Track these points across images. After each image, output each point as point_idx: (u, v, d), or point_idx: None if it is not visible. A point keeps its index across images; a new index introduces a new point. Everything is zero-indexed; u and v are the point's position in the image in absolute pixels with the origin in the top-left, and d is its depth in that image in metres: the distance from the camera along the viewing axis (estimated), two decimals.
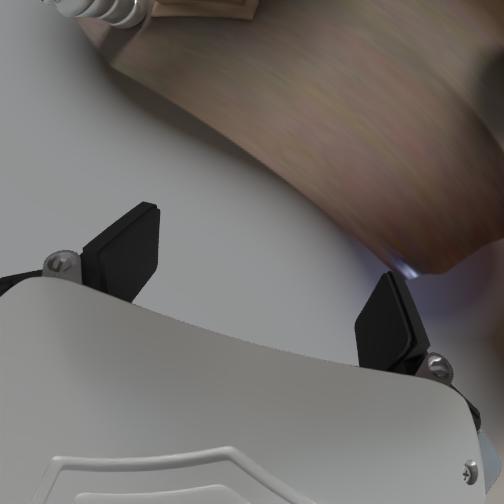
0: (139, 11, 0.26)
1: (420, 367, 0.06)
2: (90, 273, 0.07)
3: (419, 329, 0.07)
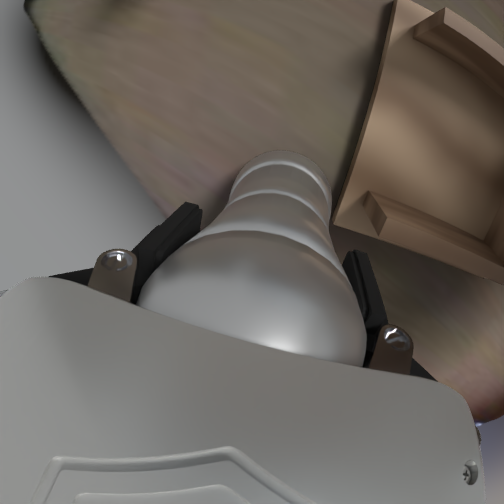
0: None
1: (377, 343, 0.07)
2: (144, 271, 0.08)
3: (376, 301, 0.08)
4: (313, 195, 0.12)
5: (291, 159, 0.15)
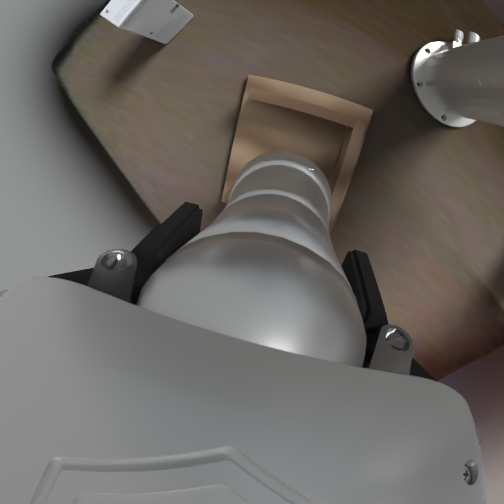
0: None
1: (377, 343, 0.07)
2: (144, 271, 0.08)
3: (376, 301, 0.08)
4: (313, 196, 0.12)
5: (290, 159, 0.15)
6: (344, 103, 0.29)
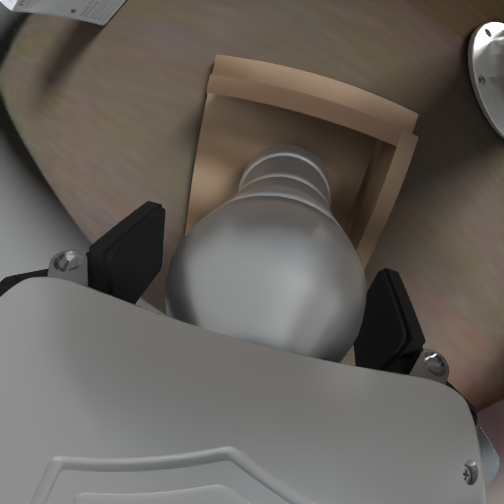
0: None
1: (415, 364, 0.06)
2: (96, 272, 0.07)
3: (414, 325, 0.07)
4: (316, 181, 0.14)
5: (296, 151, 0.16)
6: (374, 100, 0.17)
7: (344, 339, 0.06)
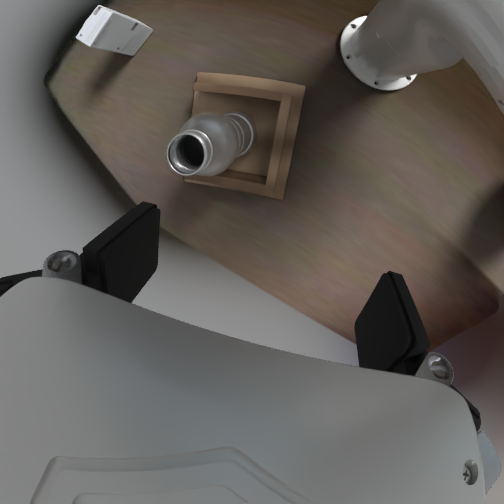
0: (253, 142, 0.36)
1: (420, 367, 0.06)
2: (90, 273, 0.07)
3: (419, 329, 0.07)
4: (238, 120, 0.31)
5: (234, 112, 0.33)
6: (279, 84, 0.34)
7: (222, 138, 0.23)
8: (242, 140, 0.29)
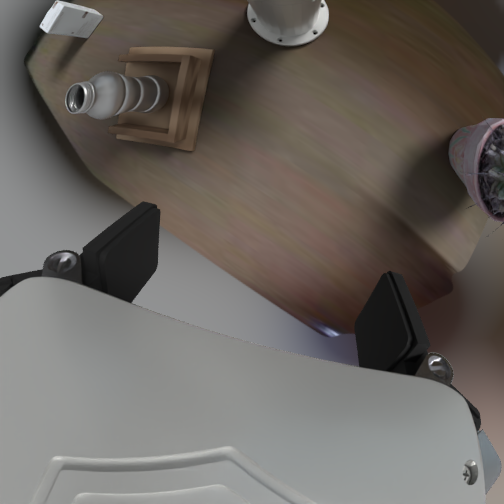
0: (162, 99, 0.37)
1: (420, 367, 0.06)
2: (90, 273, 0.07)
3: (419, 329, 0.07)
4: (143, 79, 0.32)
5: (147, 75, 0.34)
6: (190, 50, 0.35)
7: (106, 86, 0.25)
8: (138, 93, 0.31)
